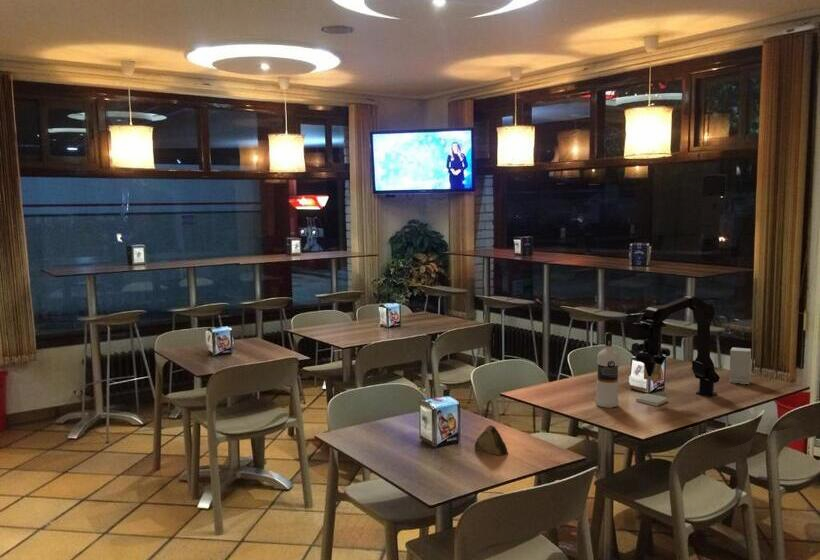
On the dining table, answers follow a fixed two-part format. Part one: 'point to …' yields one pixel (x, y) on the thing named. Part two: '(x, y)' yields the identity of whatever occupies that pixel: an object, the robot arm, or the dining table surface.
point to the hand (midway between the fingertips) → (652, 375)
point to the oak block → (653, 373)
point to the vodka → (607, 375)
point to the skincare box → (740, 365)
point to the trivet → (651, 399)
